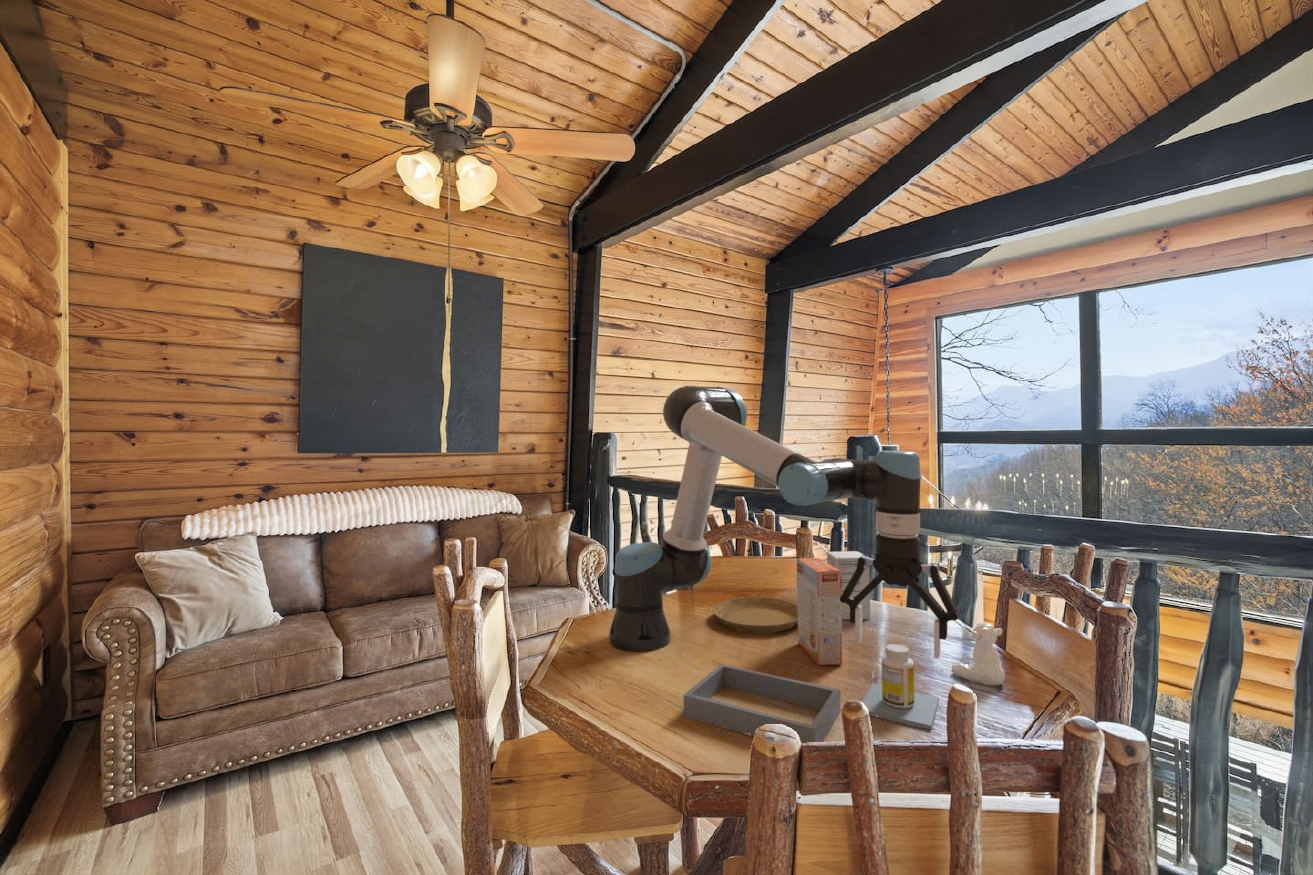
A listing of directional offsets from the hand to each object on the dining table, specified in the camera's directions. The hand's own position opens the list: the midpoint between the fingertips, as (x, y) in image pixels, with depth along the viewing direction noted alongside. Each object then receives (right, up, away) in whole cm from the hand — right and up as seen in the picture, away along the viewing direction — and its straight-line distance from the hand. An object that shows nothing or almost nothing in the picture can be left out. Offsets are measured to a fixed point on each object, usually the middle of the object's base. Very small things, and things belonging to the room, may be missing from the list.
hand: (896, 648), depth 107 cm
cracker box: (-7, -11, +26) cm, 29 cm away
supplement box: (+9, -10, +53) cm, 55 cm away
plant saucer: (-17, -11, +49) cm, 53 cm away
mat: (0, -11, 0) cm, 11 cm away
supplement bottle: (0, -10, 0) cm, 10 cm away
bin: (-25, -11, -2) cm, 28 cm away
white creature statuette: (+23, -11, +11) cm, 27 cm away
